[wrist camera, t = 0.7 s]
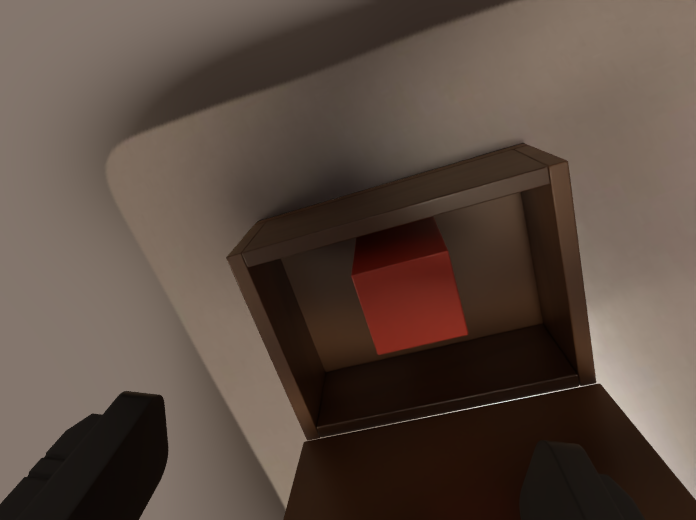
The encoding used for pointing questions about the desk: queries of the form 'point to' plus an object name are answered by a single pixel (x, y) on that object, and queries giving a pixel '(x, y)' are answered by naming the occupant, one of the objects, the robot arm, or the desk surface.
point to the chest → (472, 282)
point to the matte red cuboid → (407, 287)
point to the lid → (478, 462)
